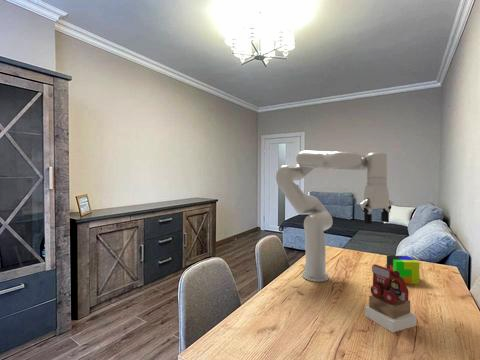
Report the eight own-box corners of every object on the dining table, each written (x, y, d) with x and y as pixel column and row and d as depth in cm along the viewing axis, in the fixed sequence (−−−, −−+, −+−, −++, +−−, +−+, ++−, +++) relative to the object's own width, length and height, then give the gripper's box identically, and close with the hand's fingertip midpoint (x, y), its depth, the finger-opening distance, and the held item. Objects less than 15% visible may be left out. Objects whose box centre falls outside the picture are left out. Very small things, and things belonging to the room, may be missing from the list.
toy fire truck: (400, 308, 84) (400, 276, 84) (366, 293, 95) (366, 265, 95) (413, 304, 87) (413, 272, 87) (379, 289, 98) (379, 262, 98)
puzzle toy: (407, 275, 132) (407, 256, 131) (419, 284, 122) (419, 262, 122) (386, 275, 133) (386, 255, 132) (396, 283, 123) (396, 261, 123)
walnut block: (369, 307, 93) (369, 296, 93) (384, 301, 98) (384, 290, 98) (394, 319, 85) (394, 307, 85) (410, 312, 90) (410, 300, 90)
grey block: (364, 317, 94) (364, 306, 94) (387, 311, 98) (387, 300, 98) (392, 334, 84) (392, 321, 84) (416, 327, 88) (416, 315, 88)
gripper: (383, 181, 117) (383, 219, 118) (354, 182, 111) (354, 222, 111) (399, 181, 110) (399, 222, 111) (368, 182, 104) (368, 225, 104)
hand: (376, 222), depth 111 cm, fingers open, 9 cm apart
